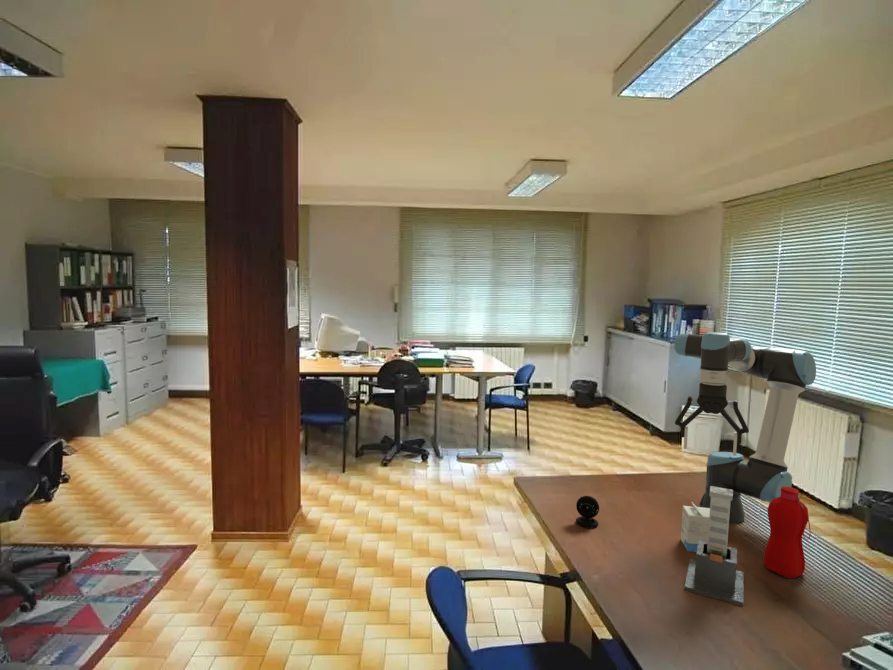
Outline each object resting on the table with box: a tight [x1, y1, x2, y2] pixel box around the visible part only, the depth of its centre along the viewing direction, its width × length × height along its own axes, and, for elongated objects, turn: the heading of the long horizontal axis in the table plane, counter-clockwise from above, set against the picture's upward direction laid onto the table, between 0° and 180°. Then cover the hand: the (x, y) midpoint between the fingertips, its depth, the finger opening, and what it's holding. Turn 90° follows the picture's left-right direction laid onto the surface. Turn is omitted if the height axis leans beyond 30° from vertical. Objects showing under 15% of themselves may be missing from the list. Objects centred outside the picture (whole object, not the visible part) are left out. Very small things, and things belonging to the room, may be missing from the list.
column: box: [707, 486, 733, 559], centre depth 146 cm, size 6×6×19 cm
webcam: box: [575, 495, 600, 529], centre depth 183 cm, size 8×8×10 cm
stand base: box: [683, 540, 745, 607], centre depth 147 cm, size 18×14×10 cm
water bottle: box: [762, 486, 812, 579], centre depth 153 cm, size 9×11×25 cm
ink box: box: [680, 501, 710, 553], centre depth 168 cm, size 9×8×13 cm
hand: (709, 451), depth 162 cm, fingers open, 13 cm apart
